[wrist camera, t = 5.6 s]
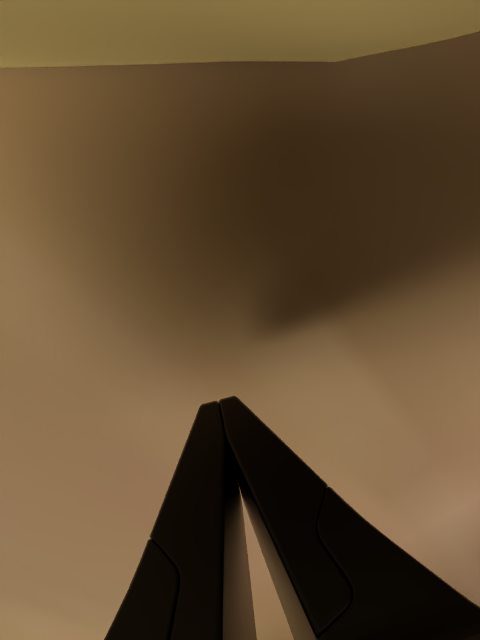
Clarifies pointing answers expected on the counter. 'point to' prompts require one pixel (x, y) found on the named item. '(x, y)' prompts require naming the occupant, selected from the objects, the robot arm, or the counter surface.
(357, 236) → the counter surface
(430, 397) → the counter surface
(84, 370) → the counter surface
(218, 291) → the counter surface
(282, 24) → the cheese
